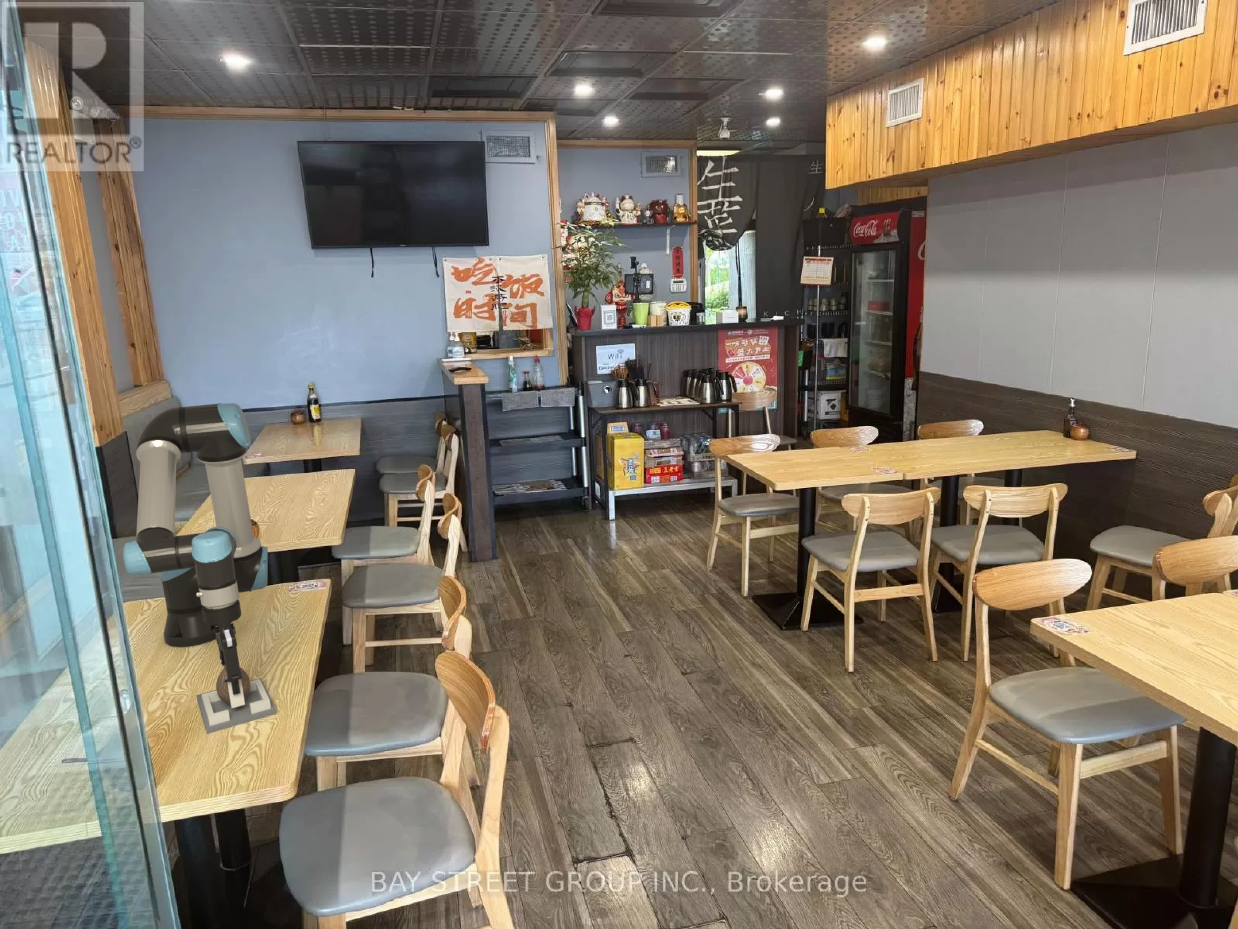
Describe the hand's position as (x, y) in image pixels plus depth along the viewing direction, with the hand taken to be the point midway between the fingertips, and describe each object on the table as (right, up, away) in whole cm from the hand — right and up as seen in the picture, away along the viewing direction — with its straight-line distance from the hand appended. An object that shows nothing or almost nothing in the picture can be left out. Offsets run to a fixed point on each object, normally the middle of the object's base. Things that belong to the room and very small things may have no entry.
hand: (235, 698), depth 186 cm
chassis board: (-1, -2, +2) cm, 3 cm away
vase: (0, -1, 0) cm, 1 cm away
